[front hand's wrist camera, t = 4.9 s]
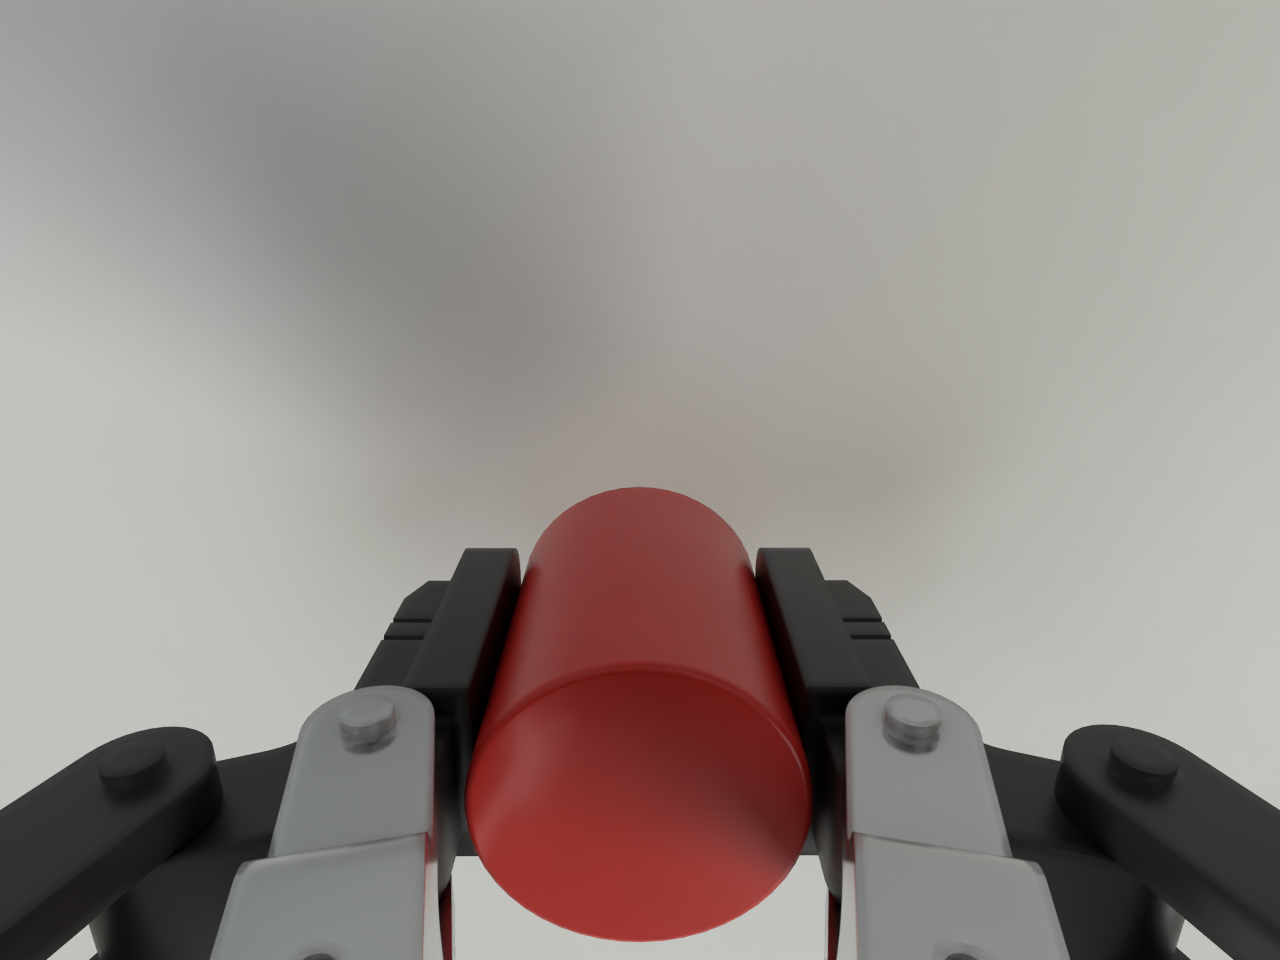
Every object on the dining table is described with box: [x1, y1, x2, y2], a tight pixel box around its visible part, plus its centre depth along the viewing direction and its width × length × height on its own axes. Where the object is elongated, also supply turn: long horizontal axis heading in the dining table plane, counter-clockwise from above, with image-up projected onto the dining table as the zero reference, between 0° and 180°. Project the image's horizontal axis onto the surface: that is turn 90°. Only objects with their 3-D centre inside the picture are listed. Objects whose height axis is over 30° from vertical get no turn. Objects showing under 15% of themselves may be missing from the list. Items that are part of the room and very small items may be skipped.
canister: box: [464, 487, 813, 942], centre depth 10 cm, size 4×4×5 cm
